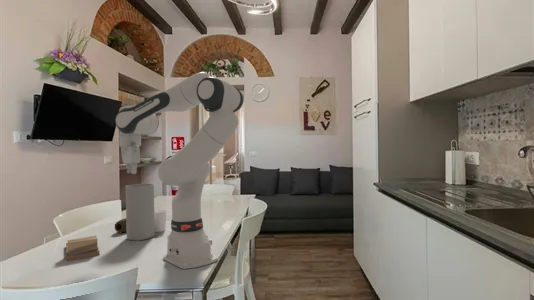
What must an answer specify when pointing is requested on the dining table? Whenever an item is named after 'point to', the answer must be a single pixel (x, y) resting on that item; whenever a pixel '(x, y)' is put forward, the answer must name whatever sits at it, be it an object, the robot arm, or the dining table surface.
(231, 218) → the dining table surface
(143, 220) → the cylinder vase
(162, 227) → the white cup
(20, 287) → the dining table surface
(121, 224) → the brown wooden tube
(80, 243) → the sanding block
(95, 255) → the board
